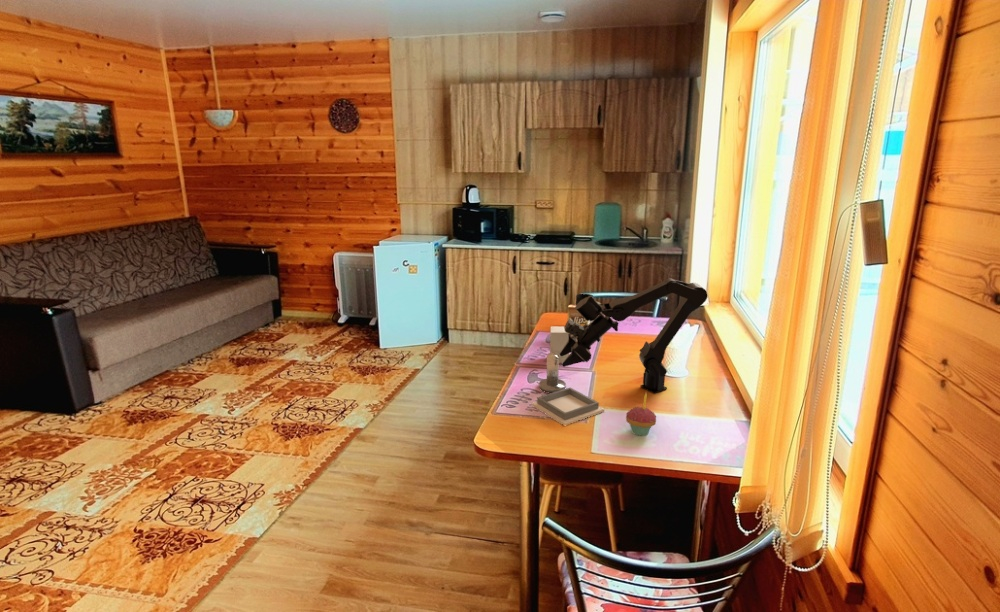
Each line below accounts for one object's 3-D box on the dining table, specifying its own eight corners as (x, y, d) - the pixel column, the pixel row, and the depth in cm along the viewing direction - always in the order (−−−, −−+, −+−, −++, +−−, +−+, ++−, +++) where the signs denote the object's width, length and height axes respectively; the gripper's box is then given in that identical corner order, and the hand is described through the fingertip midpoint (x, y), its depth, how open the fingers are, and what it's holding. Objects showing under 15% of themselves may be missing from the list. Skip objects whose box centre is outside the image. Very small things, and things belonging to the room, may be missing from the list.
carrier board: (603, 411, 172) (604, 403, 171) (564, 426, 163) (564, 417, 162) (570, 393, 184) (570, 385, 183) (531, 405, 176) (531, 397, 175)
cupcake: (633, 421, 165) (636, 385, 162) (660, 430, 160) (663, 393, 157) (620, 433, 159) (622, 395, 156) (647, 442, 154) (650, 403, 150)
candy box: (566, 341, 233) (567, 306, 228) (568, 338, 236) (569, 304, 232) (587, 343, 230) (588, 308, 225) (589, 340, 233) (590, 305, 229)
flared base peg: (570, 389, 188) (571, 356, 184) (550, 395, 183) (550, 362, 179) (554, 380, 195) (554, 348, 191) (533, 386, 190) (534, 353, 187)
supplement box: (568, 356, 216) (569, 326, 212) (569, 364, 209) (570, 332, 205) (549, 356, 217) (550, 325, 213) (549, 363, 210) (550, 332, 206)
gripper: (576, 305, 190) (543, 335, 193) (582, 322, 172) (546, 354, 176) (598, 327, 192) (565, 356, 195) (606, 346, 174) (570, 377, 178)
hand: (561, 360), depth 186 cm, fingers open, 9 cm apart
